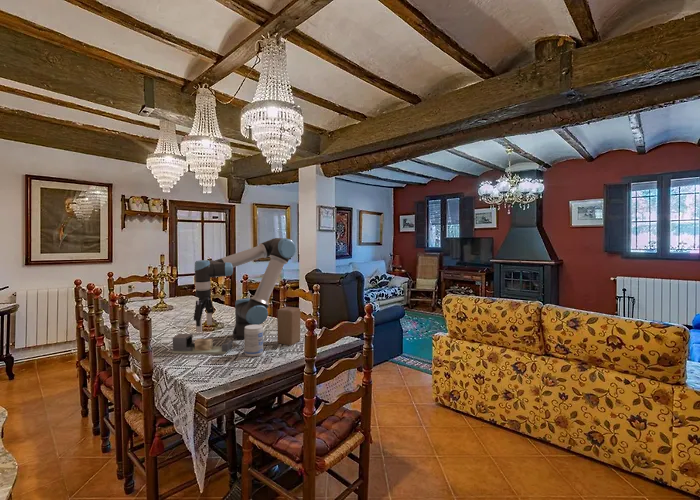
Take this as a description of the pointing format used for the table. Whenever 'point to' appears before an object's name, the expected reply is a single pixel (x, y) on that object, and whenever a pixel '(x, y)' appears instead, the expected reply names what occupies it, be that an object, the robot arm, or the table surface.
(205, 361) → the table surface
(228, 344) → the cap
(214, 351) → the board
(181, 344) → the cap
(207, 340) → the brown block
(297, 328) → the wooden block
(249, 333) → the supplement tub
